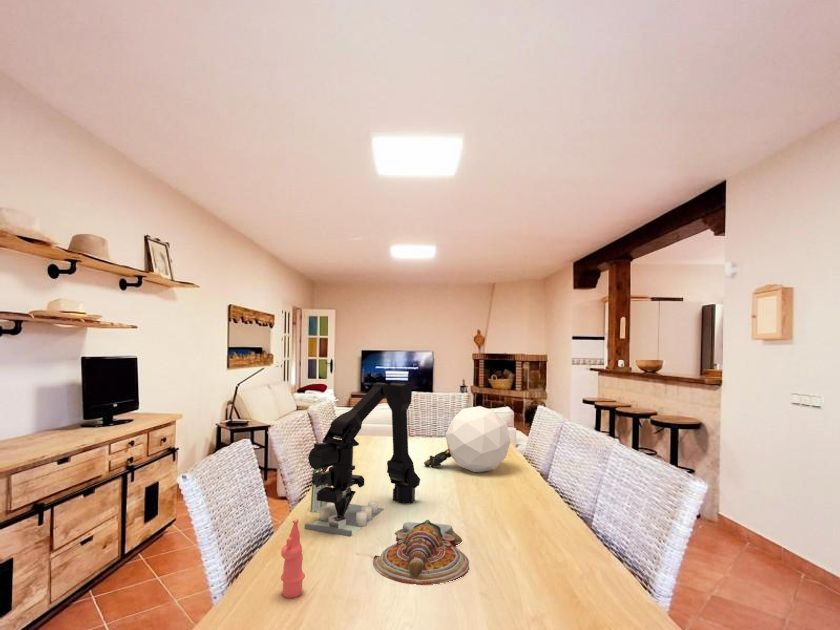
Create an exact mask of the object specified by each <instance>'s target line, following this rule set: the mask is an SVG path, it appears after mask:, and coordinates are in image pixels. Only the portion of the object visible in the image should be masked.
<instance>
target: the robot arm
mask: <svg viewBox="0 0 840 630" xmlns="http://www.w3.org/2000/svg"><path fill="white" fill-rule="evenodd" d="M412 397H413V390H412V387H411V386H410V385H409V384H405V383H397V382H396V383H395V382H392V383H390V384H388V383H386V382H376V383H373V385H372V387H371V388H370V389H369V390H368V392H366V393H365V394H364V395H363V396H362V398H360V399H359V401H357V402H356V404H355V405H354V406H353V407H352V408H351V409H350V410H348V411H347V412H344V413H341V414H340V415H338V416H337V417H336V418H334V419H333V420H332V422H330V426H329V429H328V430H327V432H326V434H325V436H324V437H323V439H322V441H321V442H316V443H313V448H311V450H310V451H309V454H308V456H307V457H308V464H309V465H310V467H311V469H312V470H314V469H320V468H321V469H324V468H328V471H327V470H326V471H323V472H322V471H321V472H319V471H316V472H315V473H314V474H313V473H312V474H311V475H312V477H311V484H312V483H313V485H315V486H316V487H319V486H321V485H324V484H327V486H331V487H324V488H323V489H321V490H319V491H318V492H317V497H316V500H317V501H323V502H330V503H334V504H335V508H336V511H337V515H341V516H344V514H345V512H346V510H347V508H348V506H349V504H351V502H352V499H353V498H354V496H355V494H356V493H357V492H356V491H355V490H352V487H353V486H354V485H357V487H358V488H362V487H364V486H365V478H364V476H363V475H361V474H360V475H359V474H353V471H354V470H356V465H354V464H353V463H354V462H353V461H354V460H353V459H354V458H353V457H354V447H358V446H359V445H360V443H359V442H358V441H357V440H356V439H355V438H356V436H357V435H358V434H359V433H360V431H361V429H362V424H363V422H364V420H365V419H366V418H367V417H368V416H369V415H370V414H371V412H372V411H374V409H375V408H376V407H377V406H378V405H379V404H380V403H381V402H382V401H383V399H384V398H386V404H387V405H388V407H389V409H390V410H391V425H392V426H391V427H392V452H393V453H392V456H391V458H390V459H389V460H387V461H386V466H387V470H386V473H387V474H388V478H389V480H390V483H391V484H394V488H393V489H392V501H393V502H397V504H402V505H403V504H405V505H406V504H413V503H414V502H415V501H416V488H417V487H419V486H420V483H421V478H420V476H419V475H418V474H417V473H416V472H415V466H414V461H413V459H412V458H411V456H410V454H409V439H408V438H409V437H408V433H409V431H408V430H409V429H408V409H409V407H410V405H411V403H412Z"/></svg>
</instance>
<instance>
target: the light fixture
mask: <svg viewBox="0 0 840 630" xmlns="http://www.w3.org/2000/svg"><path fill="white" fill-rule="evenodd" d="M445 439H446V445H447V449H445V450H444V451H441V452H439V453H436V454H435V455H429V459H427V460H425V461H424V462H423V464H424V466H425V467H426V468H433V467H438V466H441V465H442V463H443V462H444V461H446V460H448V459H449V458H452V459H453V460H454V461H455V463H456V465H458V466H459V467H461V468H463V469H466V470H469V471H471V472H473V473H475V472H478V473H483V472H488V471H494V470H495V469H496V468H497V467H498V466H499V465H500V464H501V463H502V462H503V461H504V460H505V459H506V458H507V456H508V452H509V448H510V445H511V438H510V432H509V427H508V423H507V421H505V419H503V418H502V417H501V415H499V414H498V413H497V412H496V411H494V410H492V409H490V408H487V407H483V406H482V405H478V406H473V407H466V408H462V409H461V410H460V411H459V412H458V413H457V414H456V415H455V416H454V417H453V418H452V420H451V422H450V424H449V426H448V428H447V431H446V433H445Z"/></svg>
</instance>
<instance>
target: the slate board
mask: <svg viewBox="0 0 840 630" xmlns="http://www.w3.org/2000/svg"><path fill="white" fill-rule="evenodd" d="M364 506H365V505H361V504H353V503H350V504H349V506H348V509H347V510H346V512H345V514H344V516H345V518H346V528H344V529H339V528H333V527H328V521H322V520H320V518H319V519H318V520H315V521H314V522H312V523H309V522H308V523H307V522H306V523H304V530H305V529H306V530H309V531H310V530H311V531H317V532H323V533H329V534H333V535H334V534H335V535H341V536H347V537H352V536H353V535H355V534H356V533H357V532H358V531H359V530H361V529H362V528H363V527H364V526H362V527H360V526H356V513H357V512H359V511H361V508H362V507H364ZM384 510H385V508H382V507H377V514H374V515H371V520H373V519H374V518H375V517H377V515H379V514H381V512H383V511H384ZM336 515H337V511H336ZM371 520H369V521H367V524H368V523H369V522H371Z"/></svg>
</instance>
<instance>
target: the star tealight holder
mask: <svg viewBox="0 0 840 630" xmlns="http://www.w3.org/2000/svg"><path fill="white" fill-rule="evenodd" d="M328 527H333V528H339V529H344V528H346V518H345V516H341V515H334V516H331V517H328Z"/></svg>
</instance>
